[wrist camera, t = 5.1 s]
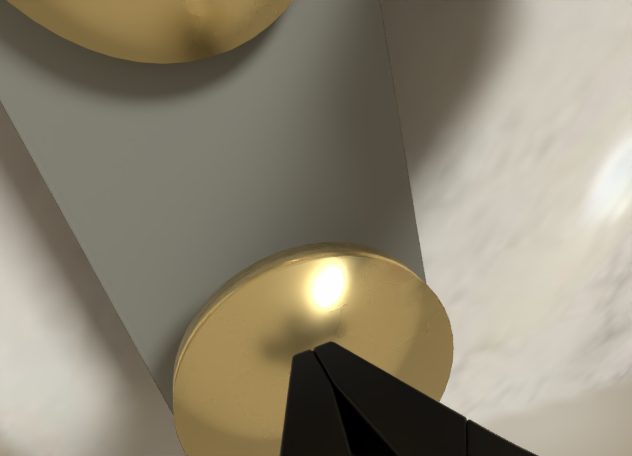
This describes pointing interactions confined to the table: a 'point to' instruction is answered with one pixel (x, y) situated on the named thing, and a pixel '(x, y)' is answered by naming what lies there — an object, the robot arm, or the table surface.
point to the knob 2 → (300, 340)
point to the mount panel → (213, 157)
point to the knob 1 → (155, 25)
